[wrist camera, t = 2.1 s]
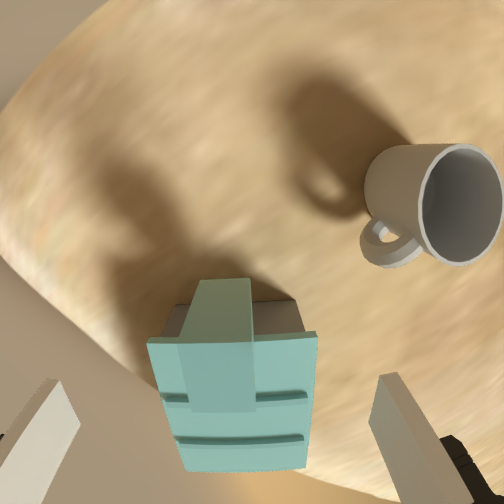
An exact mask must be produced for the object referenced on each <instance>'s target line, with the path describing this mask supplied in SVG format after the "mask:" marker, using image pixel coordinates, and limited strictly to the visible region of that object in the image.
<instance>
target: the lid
mask: <svg viewBox="0 0 504 504" xmlns="http://www.w3.org/2000/svg"><path fill="white" fill-rule="evenodd" d="M317 339H318V337H317V334H316V332H315V331H308V332H296V333H282V334H267V335H254V332H253V314H252V297H251V280H250V278H230V279H208V280H200V282H199V284H198V287H197V289H196V292H195V295H194V297H193V300H192V303H191V305H190V308H189V311H188V313H187V316H186V319H185V322H184V324H183V327H182V330H181V332H180V335H179V337H149V339H148V341H147V343H146V345H147V349H148V353H149V357H150V361H151V364H152V368H153V372H154V375H155V379H156V383H157V386H158V390H159V393H160V396H161V400H162V403H163V406H164V409H165V412H166V416H167V419H168V422H169V425H170V428H171V430H172V434H173V436H174V439H175V442H176V445H177V448H178V451H179V453H180V456H181V459H182V461H183V464H184V467H185V469H186V471H195V472H263V471H280V470H292V469H302V468H306V461H307V453H308V445H309V436H310V427H311V417H312V407H313V396H314V384H315V371H316V356H317Z"/></svg>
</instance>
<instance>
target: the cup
mask: <svg viewBox="0 0 504 504" xmlns="http://www.w3.org/2000/svg"><path fill="white" fill-rule="evenodd" d="M364 197H365V201H366V205H367V208H368V210H369V212H370V214H371V215H372V217H373V218H372V219H371V220H370V221H369V222H368V223H367V225H366V226H365V227H364V229H363V231H362V233H361V235H360V247H361V251H362V253H363V255H364V257H365V258H366V259H367V260H368V261H369V262H370V263H373V264H375V265H377V266H380V267H383V268H397V267H400V266H403V265H406V264H407V263H409V262H410V261H412V260H413V259H415V258H416V257H417V256H418V255H419V254H420V253H421V252H422V251H424V252H426V253H428V254H429V255H431V256H433V257H434V258H436V259H437V260H439V261H441V262H443V263H444V264H446V265H450V266H456V267H460V266H465V265H469V264H471V263H473V262H475V261H477V260H478V259H480V258H481V257H482V256H483V255H484V254H485V253H486V252H487V251H488V250H489V249H490V247H491V246H492V244H493V243H494V241H495V240H496V238H497V235H498V233H499V231H500V228H501V225H502V221H503V216H504V187H503V182H502V179H501V176H500V173H499V171H498V168H497V167H496V165H495V164H494V162H493V161H492V159H491V158H490V157H489V156H488V155H487V154H486V153H485V152H484V151H483V150H482V149H480V148H478V147H476V146H473V145H471V144H416V145H398V146H394V147H391V148H388V149H385V150H384V151H383V152H381V153H380V154H378V155H377V156H376V158H375V159H374V160H373V161H372V163H371V164H370V166H369V168H368V171H367V173H366V176H365V182H364ZM388 231H390V232H391V233H393V234H395V235H397V236H398V237H400V238H398V239H397V240H395V241H393V242H388V243H384V242H382V241H381V240H382V238H383V237H384V235H385V234H386V233H387V232H388Z"/></svg>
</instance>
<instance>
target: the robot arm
mask: <svg viewBox="0 0 504 504" xmlns="http://www.w3.org/2000/svg"><path fill="white" fill-rule="evenodd" d="M368 423H369V425H370V427H371V430H372V432H373V434H374V437H375V439H376V441H377V444H378V446H379V449H380V451H381V453H382V456H383V458H384V461H385V463H386V466H387V468H388V470H389V473H390V475H391V478H392V480H393V483H394V485H395V488H396V490H397V493H398V496H399V498H400V501H401V503H402V504H504V496H501V495H495V494H494V493H493V492H492V491H491V489H490V488H489V486H488V484H487V483H486V481H485V479H484V478H483V476H482V474H481V473H480V471H479V469H478V468H477V466H476V465H475V463H473V460H472V458H471V457H470V455H468V452H467V450H466V449H465V447H464V446H463V444H462V442H460V441H459V440H458V439H456V438H455V437H453V436H452V435H449V436H446V437H443V438H440V439H439V438H438V437H437V435H436V433H435V432H434V430H433V428H432V427H431V425H430V423H429V422H428V420H427V419H426V417H425V415H424V414H423V412H422V411H421V409H420V407H419V406H418V404H417V403H416V401H415V399H414V398H413V396H412V395H411V393H410V392H409V390H408V388H407V387H406V385H405V384H404V382H403V381H402V379H401V378H400V376H399V375H398V373H397V372H394V373H389V374H384V375H380V376H379V381H378V385H377V390H376V394H375V398H374V402H373V407H372V411H371V415H370V418H369V422H368ZM80 425H81V424H80V422H79V420H78V418H77V416H76V414H75V412H74V410H73V408H72V406H71V404H70V402H69V400H68V398H67V396H66V393H65V391H64V389H63V387H62V384H61V382H60V380H55V379H49V378H47V379H46V380H45V381H44V382H43V384H42V385H41V386H40V387H39V389H38V390H37V391H36V393H35V394H34V395H33V397H32V398H31V399H30V401H29V402H28V403H27V404H26V406H25V407H24V409H23V410H22V411H21V413H20V414H19V415H18V417H17V418H16V420H15V421H14V422H13V424H12V425H11V426H10V428H9V429H8V431H7V432H6V433H5V434H1V435H0V504H41V503H42V501H43V499H44V497H45V494H46V492H47V490H48V488H49V486H50V484H51V482H52V480H53V478H54V476H55V474H56V472H57V470H58V467H59V465H60V463H61V461H62V460H63V457H64V456H65V454H66V452H67V450H68V448H69V446H70V444H71V442H72V440H73V438H74V436H75V434H76V432H77V431H78V429H79V427H80Z"/></svg>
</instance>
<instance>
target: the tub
mask: <svg viewBox="0 0 504 504" xmlns="http://www.w3.org/2000/svg"><path fill="white" fill-rule="evenodd" d="M189 308H190V305H175V307H174V309H173V311H172V313H171V315H170V318H169V320H168V322H167V324H166V326H165V328H164V331H163V333H162V335H161V337H179V335H180V332H181V330H182V327H183V324H184V322H185V319H186V316H187V313H188V311H189ZM252 314H253V332H254V335H267V334H282V333H296V332H305V329H304V325H303V322H302V319H301V316H300V313H299V310H298V307H297V304H296V301H295V300H283V301H267V302H252Z"/></svg>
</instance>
